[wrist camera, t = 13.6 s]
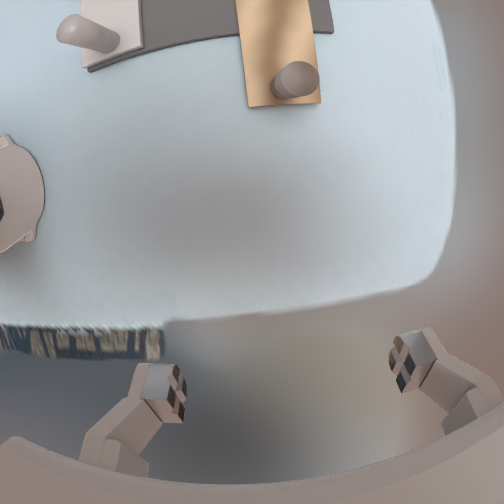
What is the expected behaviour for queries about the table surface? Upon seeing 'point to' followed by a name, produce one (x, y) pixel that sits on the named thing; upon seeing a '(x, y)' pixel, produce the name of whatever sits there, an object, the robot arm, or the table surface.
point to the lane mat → (199, 23)
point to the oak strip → (278, 52)
